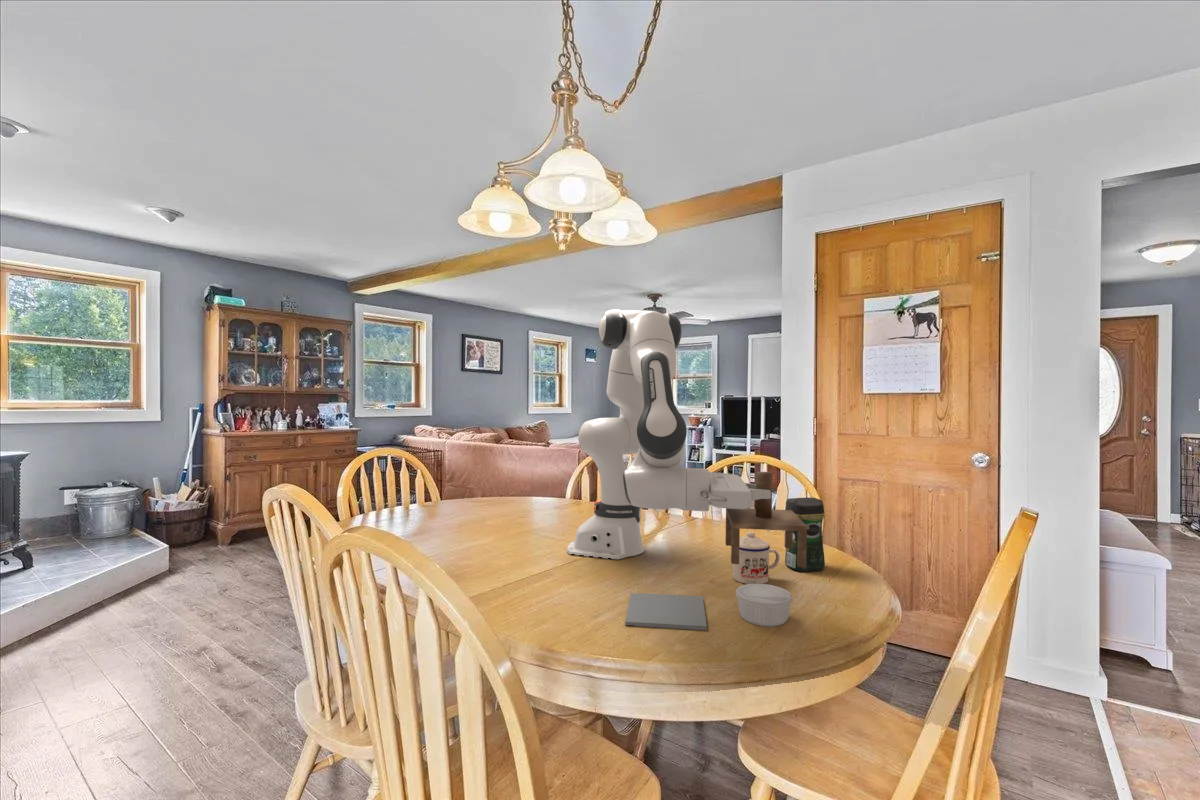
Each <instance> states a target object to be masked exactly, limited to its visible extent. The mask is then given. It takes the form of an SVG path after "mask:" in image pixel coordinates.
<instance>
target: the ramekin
mask: <svg viewBox="0 0 1200 800" xmlns="http://www.w3.org/2000/svg"><path fill="white" fill-rule="evenodd" d="M735 596H736V598H737V605H738V613H739V614H740V616H741V618H742V619H743V620H744V621H746V622H747V623H750V624H752V625H757V626H761V627H778V626H781V625H783V624H785V623H786V622H787V620H788V619H789V615H790V609H791V603H792V601H793V596H792V594H791V592H790V591H789V590H787V589H785V588H783V587H780V586H778V585H773V584H767V583H764V584H743V585H740V586H738V587H737V588H736V590H735Z"/></svg>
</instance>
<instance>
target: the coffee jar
mask: <svg viewBox="0 0 1200 800" xmlns="http://www.w3.org/2000/svg"><path fill="white" fill-rule="evenodd" d="M784 510H792V511H793V512H794V513H795V514H796V515H797V516H798V517H799V518H800V519H801V520H802V522H803V523H804V524H805V525H806V526H807V548H806V567H798V565H797V538H798V531H793V549H790V548H785V557H784V562H785V565H786V567H788V568H789V569H790V570H795V571H798V572H814V570H815V571H822V570H824V568H825V566H826V563H825V551H824V549H825V548H824V542H823V521H824V517H825V507H824V503H823V500H822V499H819V498H816V497H794V498H787V499H786V501H785V509H784Z"/></svg>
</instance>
